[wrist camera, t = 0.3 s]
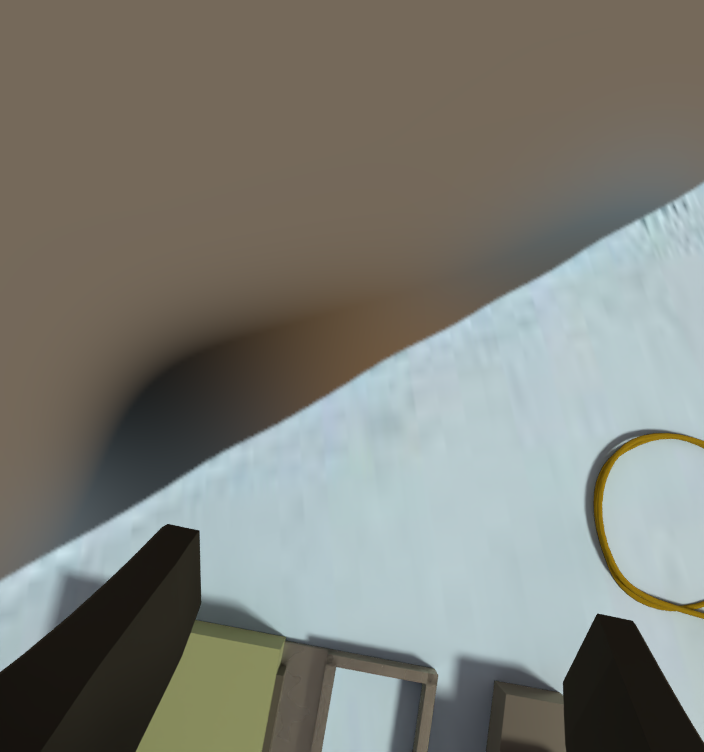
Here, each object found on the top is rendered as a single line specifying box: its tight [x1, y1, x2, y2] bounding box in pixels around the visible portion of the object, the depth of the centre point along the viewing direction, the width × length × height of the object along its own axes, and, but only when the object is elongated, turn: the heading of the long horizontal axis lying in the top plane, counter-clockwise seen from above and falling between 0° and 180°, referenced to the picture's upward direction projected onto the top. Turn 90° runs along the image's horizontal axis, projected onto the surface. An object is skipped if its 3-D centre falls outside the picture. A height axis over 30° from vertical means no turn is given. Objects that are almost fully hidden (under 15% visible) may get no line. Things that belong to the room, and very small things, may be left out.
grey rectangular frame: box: [271, 641, 438, 752], centre depth 37 cm, size 10×9×2 cm
